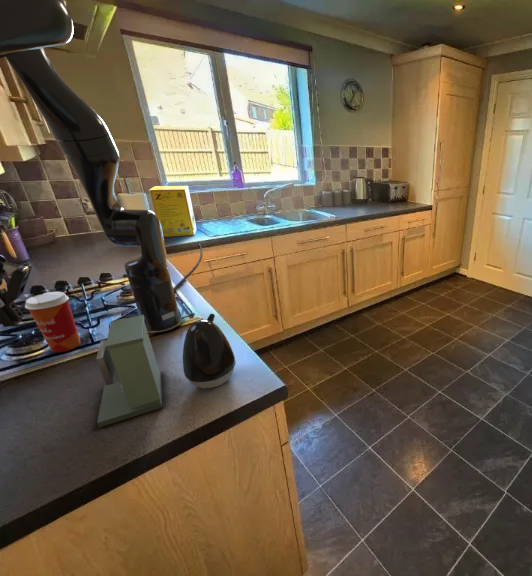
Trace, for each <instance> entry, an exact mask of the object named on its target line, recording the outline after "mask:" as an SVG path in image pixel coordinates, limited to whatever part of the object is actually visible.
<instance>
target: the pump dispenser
mask: <svg viewBox="0 0 532 576" xmlns="http://www.w3.org/2000/svg"><path fill="white" fill-rule="evenodd" d="M215 317H216V315H215V313H210V314H209V315H208V317H207V319H200V320H197V321H194V322H193V323H192V324H191V325H190V326H189V328H188V329H187V330H186V333H185V337H184V341H183V346H182V348H183V349H182V371H183V375H184V377H185V378H186V379H187V380H188V381H189V382H190V383H191V384H192V385H193V386H195V387H197V388H201V389H212V388H216V387H219V386H221V385H223V384H224V383H226V382H227V381H228V380H229V379H230V378H231V377H232V375H233V373H234V370H235V366H236V361H237V360H236V357H235V353H234V351H233V349H232V346H231V344H230V342H229V340H228V338H227V337H226V335H225V334H224V332H223V331H222V330H221V328H220V327H219V325H217V324H216V323H215V322H214V320H215Z"/></svg>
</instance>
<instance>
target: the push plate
mask: <svg viewBox="0 0 532 576" xmlns="http://www.w3.org/2000/svg"><path fill="white" fill-rule="evenodd" d="M106 342H107V339H104V340H103V339H102V340H100V342H99V347H98V351H97V355H96V359H95V360H96V362H97V365H98V367H99V371H100V373H101V375H102V378H103V380H104V383H105V385H110V384H113V383H114V380H115V374H116V368H115V366H114V363H113V360H112V358H111V355H110V352H109V350H107V349H106Z"/></svg>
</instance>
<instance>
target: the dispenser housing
mask: <svg viewBox="0 0 532 576" xmlns="http://www.w3.org/2000/svg"><path fill="white" fill-rule="evenodd" d="M106 340H107V342H106V349H107V350H109V352H110V355H111V358H112V360H113V363H114V366H115V372H116V374H117V376H118V379H119V381H116V382H113V384H110V385H106V384H105V385H103V390H102V396H101V400H100V404H99V409H98V416H97V421H96V422H97V423H96V424H97V426H98V428H103V427H106V426H109V425H112V424H115V423H118V422H121V421H124V420H127V419H131V418H134V417H137V416H140V415H143V414H147V413H149V412H154V411H155V410H159V409H162V408H163V392H162V391H163V390H162V374H161V370H160V368H159V366H158V362H157V359H156V356H155V353H154V349H153V346H152V342H151V339H150V337H149V333H148V332H147V329H146V326H145V322H144V315H140V316H139V315H135V316H130V317H126V318H120V319H115V320H111V321H110V325H109V329H108V333H107V338H106Z"/></svg>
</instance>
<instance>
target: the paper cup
mask: <svg viewBox="0 0 532 576" xmlns="http://www.w3.org/2000/svg"><path fill="white" fill-rule="evenodd" d="M69 300H70V297H69V296H68V295H67V294H66V293H65V292H63V291H49V292H43V293H42V294H41V293H40V294H36V295H35V296H30V297H29V298H27V299H26V300H25V305H24V308H25V309H27V310H28V312H29V313H30V315H31V317H32V319H33V320H34V322H35V324H36V326H37V328H38V329H39V331H40V333H41V335H42V336H43V338H44V340H45V342H46V343H47V345H48V347H49V348H50V350H51V352H52V353H64V352H69V351H71V350H74V349H76V348H78V347H79V346H80V345H81V338H80V335H79V330H78V328H77V325H76V322H75V319H74V315H73V311H72V309H71V306H70V302H69Z"/></svg>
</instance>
